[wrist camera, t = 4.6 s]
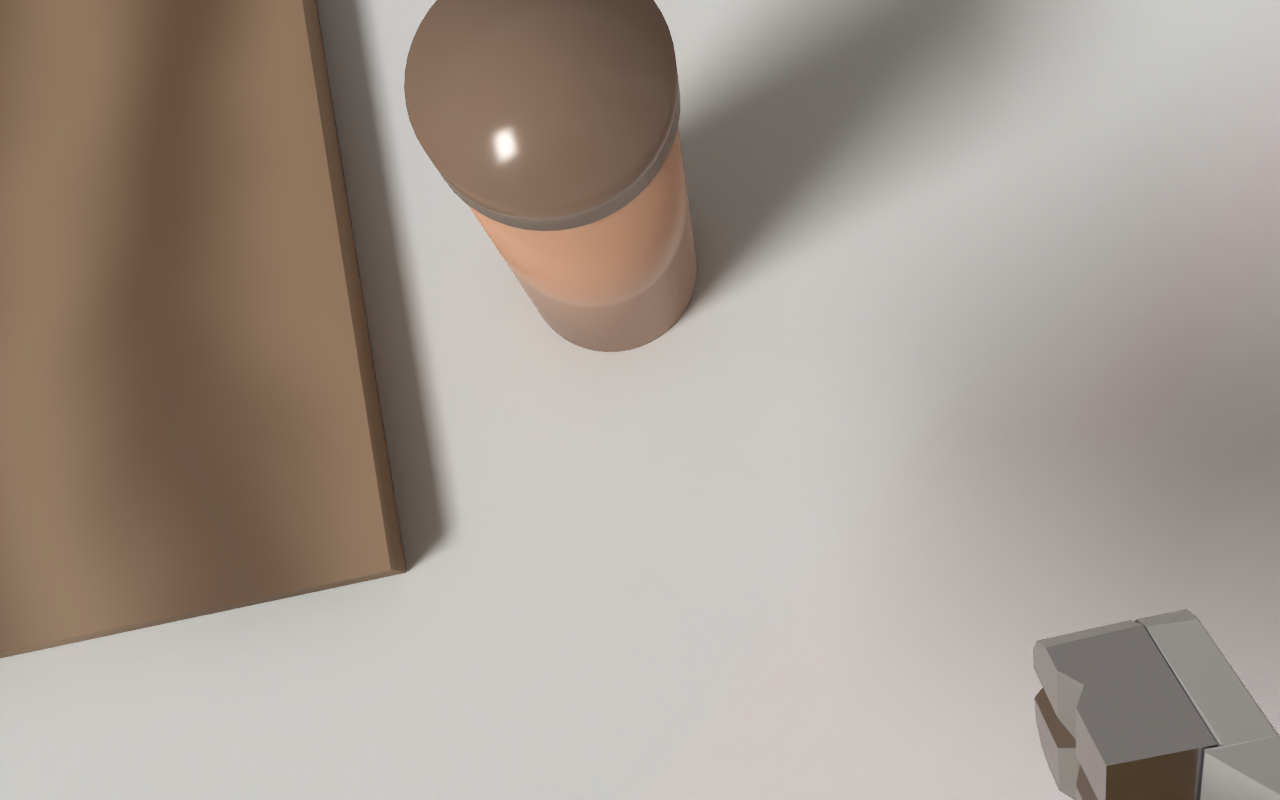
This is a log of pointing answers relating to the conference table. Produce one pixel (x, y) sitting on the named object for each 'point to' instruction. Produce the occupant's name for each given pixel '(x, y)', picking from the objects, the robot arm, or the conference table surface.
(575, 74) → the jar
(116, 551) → the board
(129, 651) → the conference table surface
